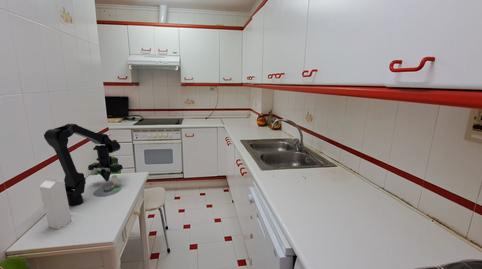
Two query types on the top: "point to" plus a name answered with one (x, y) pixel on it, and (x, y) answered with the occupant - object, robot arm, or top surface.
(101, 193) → the grey round disc
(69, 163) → the robot arm
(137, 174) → the top surface
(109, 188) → the peg
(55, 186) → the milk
